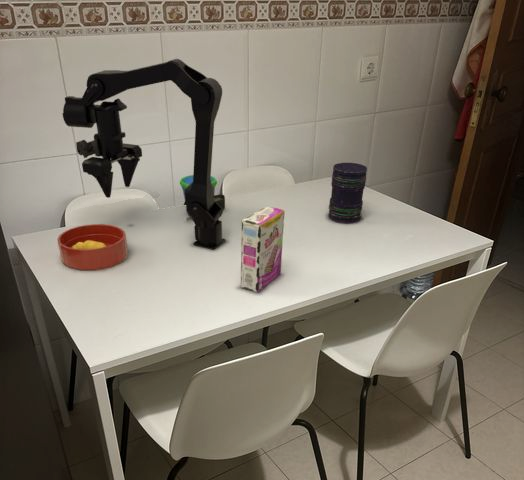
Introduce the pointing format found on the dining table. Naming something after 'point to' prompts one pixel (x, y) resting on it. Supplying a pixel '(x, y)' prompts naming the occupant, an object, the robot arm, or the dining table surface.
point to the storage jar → (347, 192)
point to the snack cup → (189, 179)
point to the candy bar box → (261, 248)
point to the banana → (88, 245)
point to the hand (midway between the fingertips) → (118, 191)
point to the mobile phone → (218, 199)
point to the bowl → (93, 257)
